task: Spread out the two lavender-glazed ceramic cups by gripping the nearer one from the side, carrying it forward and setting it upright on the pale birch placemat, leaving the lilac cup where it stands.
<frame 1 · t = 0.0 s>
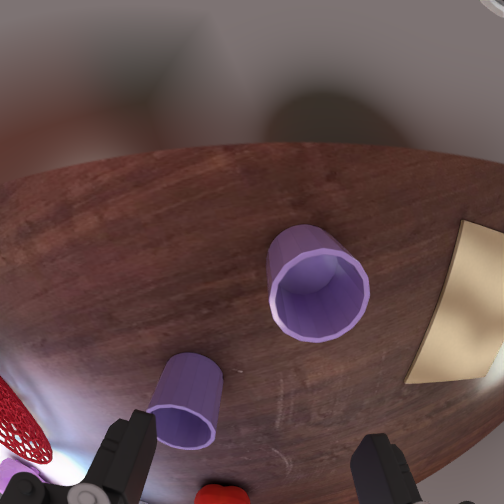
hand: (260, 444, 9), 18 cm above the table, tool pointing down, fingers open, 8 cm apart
mat: (479, 312, 28), on the table
teapot: (34, 473, 44), on the table
lilac cup: (193, 376, 30), on the table
tomato: (223, 487, 37), on the table
bowl: (2, 392, 34), on the table
lavender cup: (303, 261, 26), on the table
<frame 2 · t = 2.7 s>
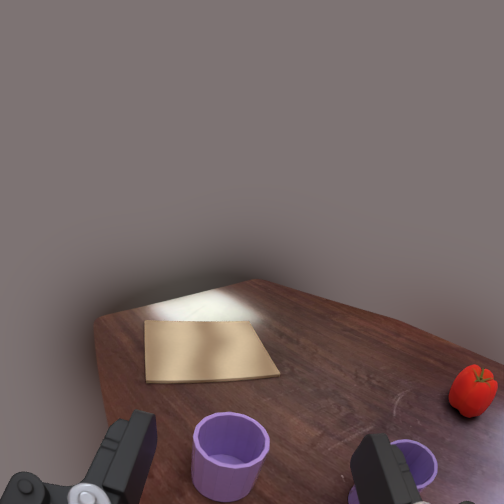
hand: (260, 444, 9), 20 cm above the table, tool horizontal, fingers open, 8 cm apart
mat: (205, 349, 47), on the table
lilac cup: (374, 499, 22), on the table
tomato: (462, 409, 36), on the table
lavender cup: (223, 477, 24), on the table
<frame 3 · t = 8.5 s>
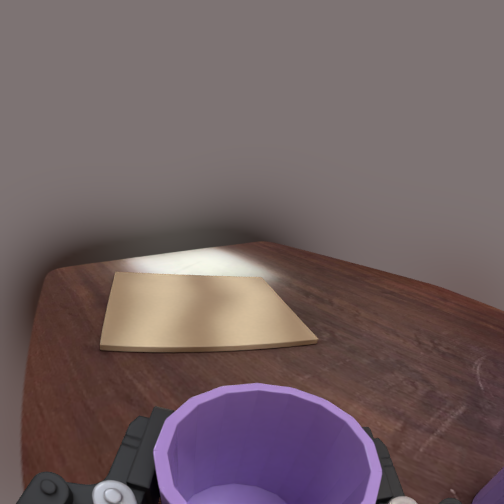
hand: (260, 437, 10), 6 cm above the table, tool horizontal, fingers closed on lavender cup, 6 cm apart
mat: (200, 308, 32), on the table
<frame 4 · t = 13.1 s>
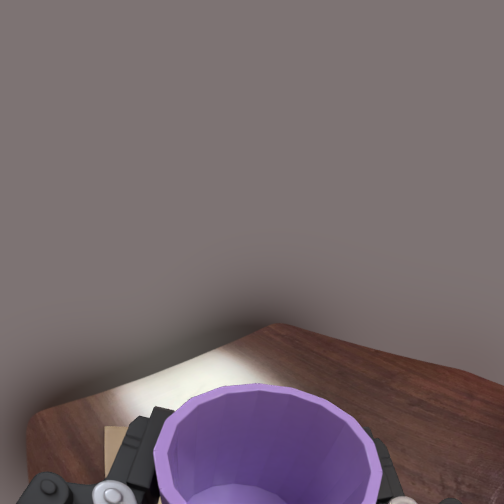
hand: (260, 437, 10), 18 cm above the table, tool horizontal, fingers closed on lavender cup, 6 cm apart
mat: (212, 486, 21), on the table
when the fingers open (7 cm above the table, at t = 18.1 s): lavender cup stays where it is, resting on mat.
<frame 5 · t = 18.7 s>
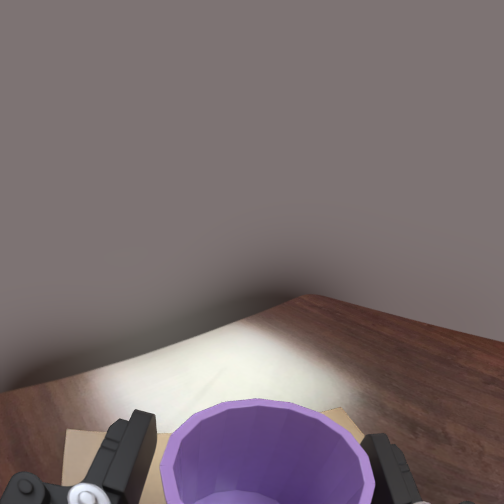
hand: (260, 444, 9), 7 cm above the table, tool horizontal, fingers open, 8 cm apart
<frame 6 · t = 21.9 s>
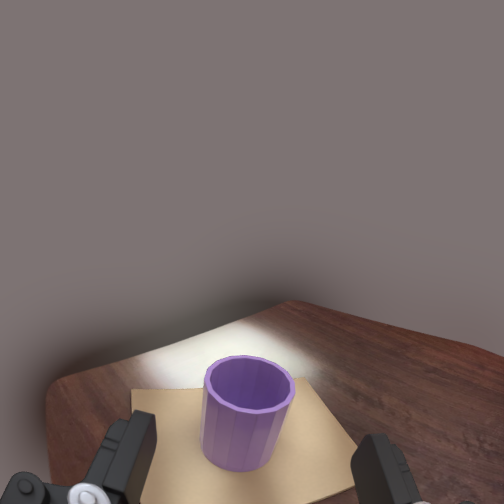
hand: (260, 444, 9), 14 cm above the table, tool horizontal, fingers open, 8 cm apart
mat: (245, 445, 23), on the table
lavender cup: (237, 443, 22), point 1 cm above the table, touching mat
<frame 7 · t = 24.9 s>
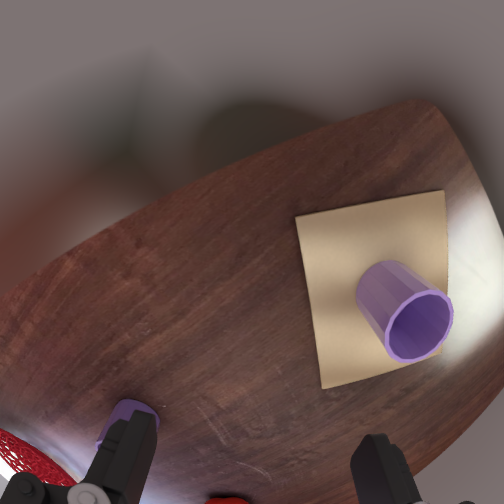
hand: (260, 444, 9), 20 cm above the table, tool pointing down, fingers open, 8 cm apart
mat: (384, 296, 29), on the table
lilac cup: (137, 415, 34), on the table
tomato: (228, 499, 40), on the table
bowl: (44, 459, 42), on the table
lavender cup: (385, 291, 28), point 1 cm above the table, touching mat
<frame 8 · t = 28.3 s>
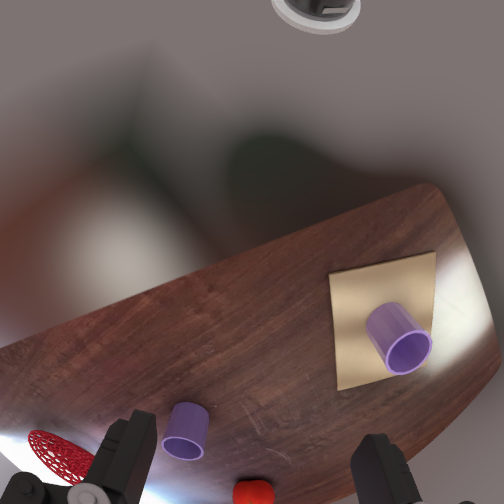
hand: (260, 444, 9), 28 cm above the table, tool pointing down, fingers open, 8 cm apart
mat: (386, 326, 39), on the table
lilac cup: (190, 414, 45), on the table
tomato: (252, 482, 51), on the table
bowl: (82, 456, 52), on the table
lavender cup: (386, 322, 38), point 1 cm above the table, touching mat
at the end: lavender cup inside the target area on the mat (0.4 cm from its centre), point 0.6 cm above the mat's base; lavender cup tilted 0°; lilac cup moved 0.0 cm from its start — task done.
